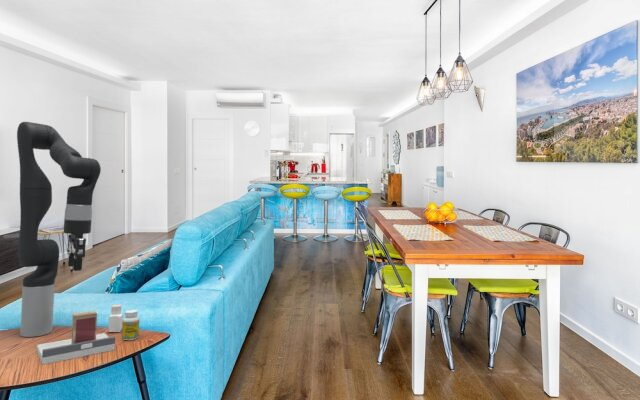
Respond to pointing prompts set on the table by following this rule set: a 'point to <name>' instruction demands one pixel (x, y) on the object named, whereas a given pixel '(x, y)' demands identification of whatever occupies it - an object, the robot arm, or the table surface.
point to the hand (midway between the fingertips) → (74, 268)
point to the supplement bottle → (130, 325)
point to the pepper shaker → (115, 319)
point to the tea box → (84, 327)
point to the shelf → (74, 348)
